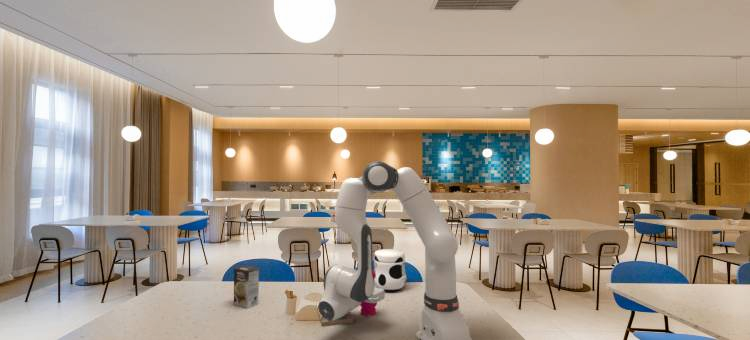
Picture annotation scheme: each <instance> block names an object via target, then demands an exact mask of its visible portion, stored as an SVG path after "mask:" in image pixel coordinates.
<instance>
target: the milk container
mask: <svg viewBox="0 0 750 340" xmlns="http://www.w3.org/2000/svg"><path fill="white" fill-rule="evenodd" d="M373 260H374V263H373V264H374V269H373V270H374V271H375V273H376V277H375V279H374V281H375V282H374V283H375V284H374V285H376V286H377V288H380V289H384V292H387V291H388V292H393V291H399V290H402V289H404V288H405V286H406V284H407V279H408V278H407V273H406V269H405V268H406V254H405V251H404V250H400V249H395V248H383V249H377V250H375V251H374V259H373Z"/></svg>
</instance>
